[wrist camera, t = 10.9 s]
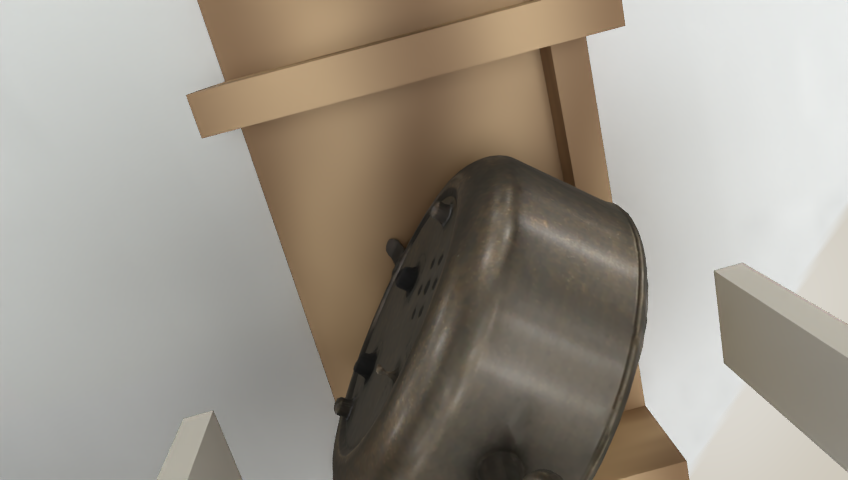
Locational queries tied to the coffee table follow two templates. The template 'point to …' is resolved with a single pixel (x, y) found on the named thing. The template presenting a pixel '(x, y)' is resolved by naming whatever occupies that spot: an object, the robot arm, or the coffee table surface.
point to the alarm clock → (499, 336)
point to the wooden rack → (406, 141)
